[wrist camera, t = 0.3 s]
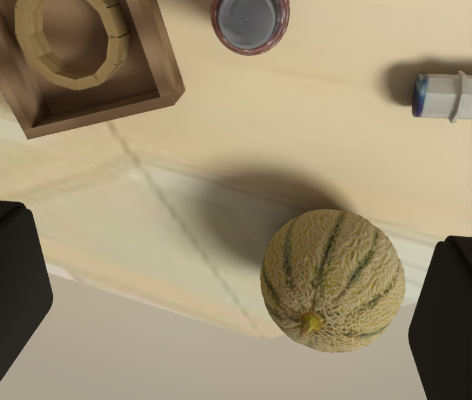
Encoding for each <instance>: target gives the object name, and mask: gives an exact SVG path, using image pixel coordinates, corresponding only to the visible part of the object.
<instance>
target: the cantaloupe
mask: <svg viewBox="0 0 472 400" xmlns="http://www.w3.org/2000/svg"><path fill="white" fill-rule="evenodd" d="M260 280H261V290H262V295H263V298H264V302H265V306H266V308H267V310H268V313H269V315H270V316H271V318H272V319H273V321H274V322H275V323H276V324H277V325H278V326H279V327H280V329H281V330H282V331H283V332H284V333H285V334H286V335H287V336H288V337H290V338H291V339H293V340H294V341H295V342H297V343H299V344H303V345H305V346H308V347H310V348H312V349H315V350H317V351H321V352H331V353H339V352H346V351H355V350H358V349H360V348H362V347H364V346H367V345H369V344H370V343H371V342H373V341H374V340H376V339H378V338H379V336H380V335H382V334H383V333H384V332H385V331H386V330H387V328H388V326H389V325H390V323H391V321H392V320H393V318H394V317H395V316H396V314H397V313H398V311H399V309H400V306H401V304H402V301H403V298H404V294H405V277H404V269H403V266H402V263H401V261H400V259H399V258H398V256H397V253H396V250H395V248H394V246H393V245H392V243H391V241H390V240H389V238H388V237H387V236H386V235H385V234H384V233H383V231H381V230H380V229H379V228H377V227H375V226H374V225H372V224H371V223H370V222H369V221H368V220H367V219H364V218H363V217H361V216H360V215H356V214H353V213H348V212H343V211H340V210H334V209H317V210H312V211H308V212H306V213H304V214H302V215H300V216H297V217H295V218H293V219H291V220H290V221H288V222H287V223H286V224H285V225H284V226H282V227H281V228H280V230H278V231H277V232H276V233H275V235H274V236H273V238H272V240H271V242H270V244H269V246H268V248H267V251H266V254H265V256H264V259H263V262H262V267H261V275H260Z"/></svg>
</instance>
